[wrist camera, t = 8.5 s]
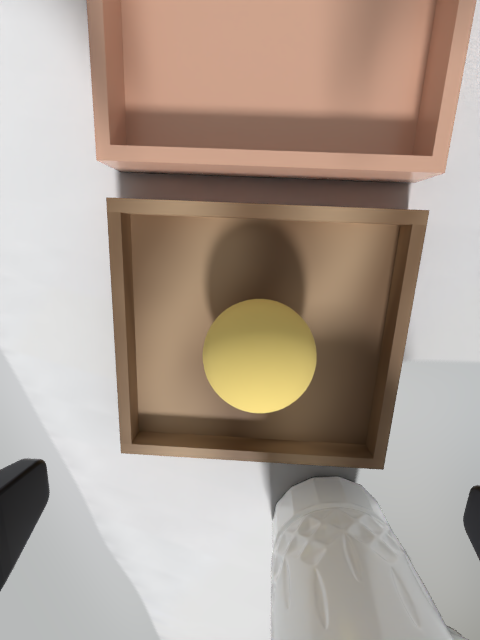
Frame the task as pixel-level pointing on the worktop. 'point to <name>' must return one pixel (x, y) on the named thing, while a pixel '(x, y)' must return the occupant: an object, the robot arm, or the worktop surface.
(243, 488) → the worktop surface
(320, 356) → the tray
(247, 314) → the ball
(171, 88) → the dish
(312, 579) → the white cup
